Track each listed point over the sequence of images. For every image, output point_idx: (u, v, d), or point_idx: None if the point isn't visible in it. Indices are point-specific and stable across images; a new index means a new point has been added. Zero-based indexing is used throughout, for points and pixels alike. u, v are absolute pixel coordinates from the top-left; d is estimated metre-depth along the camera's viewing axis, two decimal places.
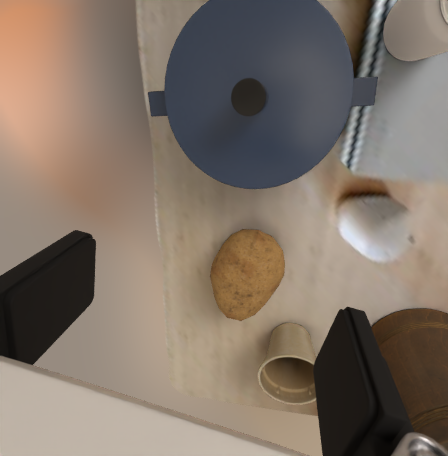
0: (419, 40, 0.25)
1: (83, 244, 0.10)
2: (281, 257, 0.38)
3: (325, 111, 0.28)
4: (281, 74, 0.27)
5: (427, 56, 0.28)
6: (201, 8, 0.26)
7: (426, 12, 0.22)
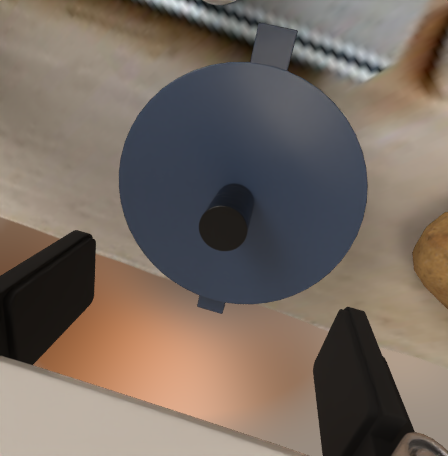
0: None
1: (83, 244, 0.10)
2: None
3: (281, 110, 0.19)
4: (217, 161, 0.20)
5: None
6: (131, 230, 0.24)
7: None
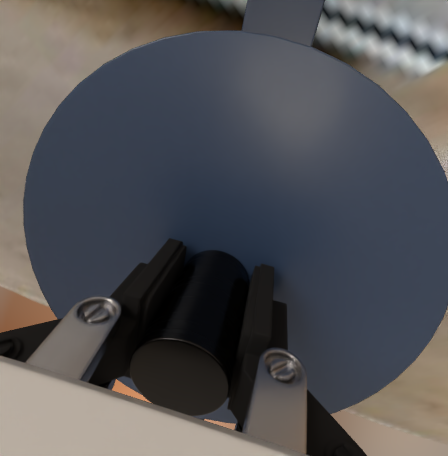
0: None
1: (181, 251, 0.11)
2: None
3: (299, 125, 0.10)
4: (183, 212, 0.12)
5: None
6: (54, 311, 0.15)
7: None
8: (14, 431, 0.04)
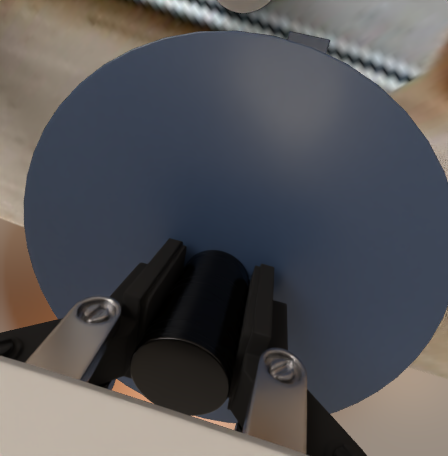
0: None
1: (181, 251, 0.11)
2: None
3: (300, 125, 0.10)
4: (184, 212, 0.12)
5: None
6: (54, 311, 0.15)
7: None
8: (14, 431, 0.04)
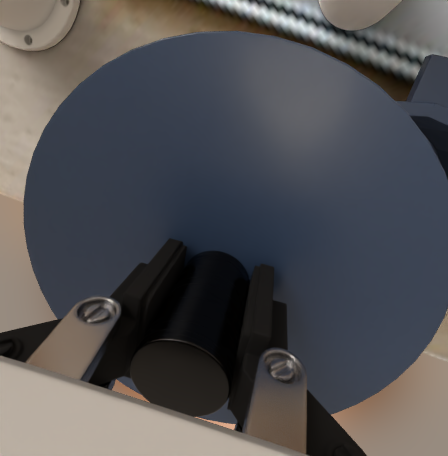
0: None
1: (181, 251, 0.11)
2: None
3: (300, 126, 0.10)
4: (184, 213, 0.12)
5: None
6: (54, 312, 0.15)
7: None
8: (14, 431, 0.04)
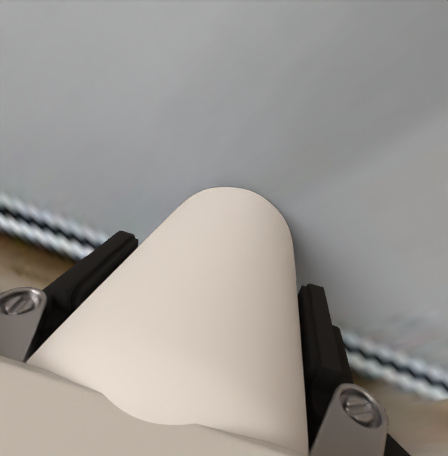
0: None
1: (129, 244, 0.11)
2: None
3: None
4: None
5: None
6: None
7: None
8: (14, 431, 0.04)
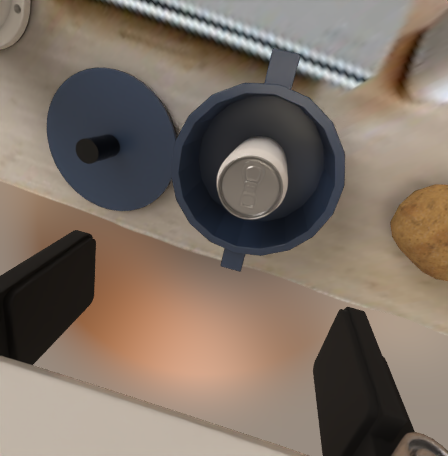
0: None
1: (83, 244, 0.10)
2: None
3: (124, 92, 0.35)
4: (97, 121, 0.37)
5: None
6: (57, 165, 0.41)
7: None
8: (14, 431, 0.04)
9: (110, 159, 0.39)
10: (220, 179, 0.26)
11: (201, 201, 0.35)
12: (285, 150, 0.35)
